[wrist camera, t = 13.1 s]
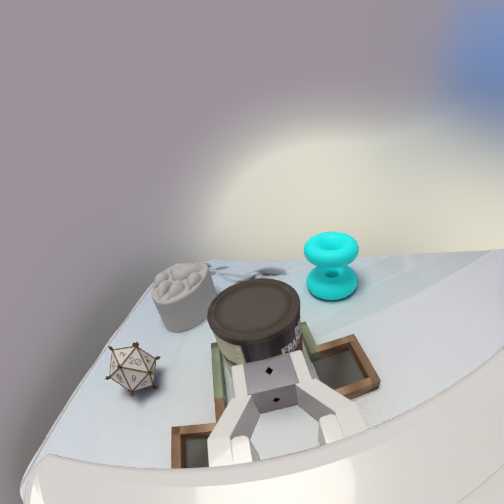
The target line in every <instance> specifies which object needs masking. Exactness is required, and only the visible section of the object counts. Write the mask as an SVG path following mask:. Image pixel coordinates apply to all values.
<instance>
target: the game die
mask: <svg viewBox="0 0 504 504" xmlns="http://www.w3.org/2000/svg"><path fill="white" fill-rule="evenodd" d="M138 346H139V344H138V342H136V343H133V345H132V347H126V348H120V349H113V348H112V347H110V346H108V347H109V349H110V350H112V356H111V365H110V375H109V376H107V377H106V378H105V379H107V380H108V379H110V378H111V379H112V380H114V381H115V382H117V383H118V384H120V385H121V386H123V387H124V388H126V389H128V391H131V392H130V395H131V396H133V395H134V393H133V392H134V391H137V390H141V389H144V388H147V387H150V386H153V387H154V388H157V386H156V385H154V375H155V365H156V360H158V359H159V358H160V357H159V356H157V357H156V358H154V357H153V356H151V355H150V354H148V353H147V352H145V351H143V350H142V349H140V348H139V347H138ZM157 389H158V388H157Z"/></svg>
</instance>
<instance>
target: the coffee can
mask: <svg viewBox="0 0 504 504" xmlns="http://www.w3.org/2000/svg"><path fill="white" fill-rule="evenodd" d="M207 320H208V323H209V325H210V328H211V329H212V331H213V333H214V335H215V338H216V340H217V343H218V345H219V348H220V351H221V353H222V355H223V358H224V361H225V363H226V365H227V368H228V370H229V372H230V375H231V377H232V371H231V368H232V366H235V365H240V364H245V363H250V362H255V361H260V360H265V359H267V358H271V357H275V356H278V355H282V354H286V353H291V352H294V351H298V350H301V351H302V353H303V344H302V331H301V320H300V299H299V296H298V294H297V292H296V291H295V290H294V288H292V287H291V286H290V285H288V284H286V283H284V282H282V281H278V280H274V279H252V280H247V281H243V282H240V283H237V284H234V285H232V286H230V287H228V288H226V289H225V290H223V291H222V292H220V293H219V294H218V295H217V296H216V297H215V298H214V299H213V300H212V302H211V303H210V305H209V307H208V310H207Z"/></svg>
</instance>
